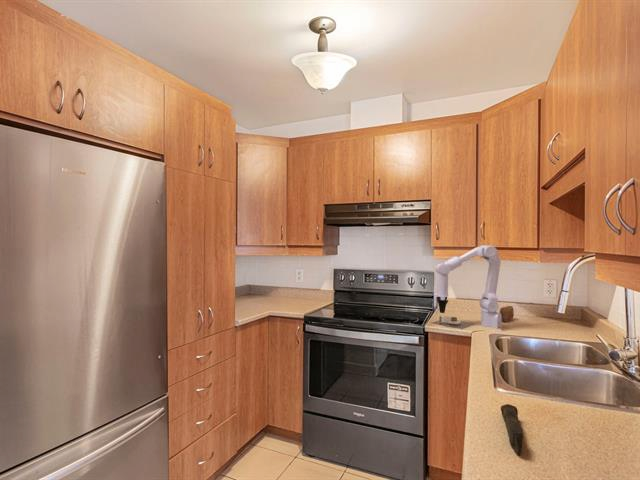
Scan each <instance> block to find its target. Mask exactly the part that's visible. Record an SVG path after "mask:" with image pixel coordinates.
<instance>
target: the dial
mask: <svg viewBox="0 0 640 480" xmlns="http://www.w3.org/2000/svg"><path fill="white" fill-rule="evenodd" d="M438 316H439V318H438V320H439V322H447V323H449V324H454V325H458V324H461V321H462V320H458V318H457V316H447V315H446V316H444V315H438Z"/></svg>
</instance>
